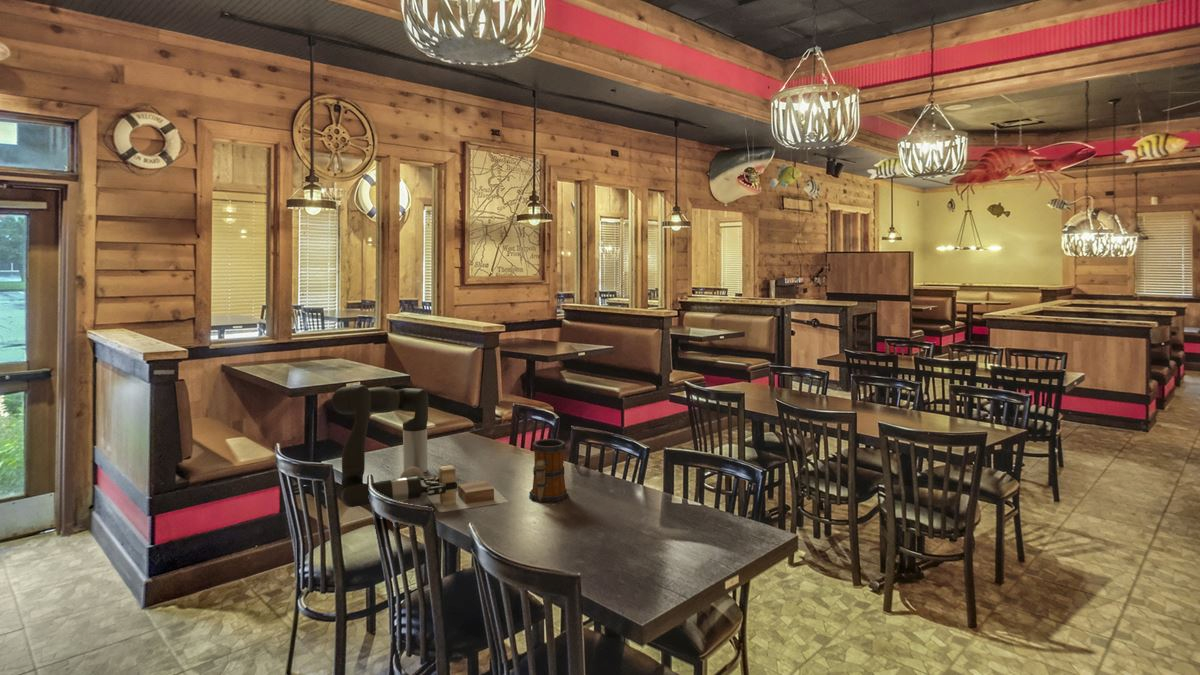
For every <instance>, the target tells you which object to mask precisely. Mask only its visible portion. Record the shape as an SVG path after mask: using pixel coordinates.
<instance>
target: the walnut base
mask: <svg viewBox="0 0 1200 675" xmlns="http://www.w3.org/2000/svg"><path fill="white" fill-rule="evenodd" d="M494 488H495V487H493V486H492V485H490V484H489V482H488V481H487V480H480V481H474V482H464V483H457V492H458V496H459V497H460V498H461V499H462V500H463V501H464V502H465V504H470V503H477V502H483V501H490V500H494Z"/></svg>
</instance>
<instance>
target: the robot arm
mask: <svg viewBox="0 0 1200 675" xmlns="http://www.w3.org/2000/svg"><path fill="white" fill-rule="evenodd" d="M331 404H332V407H333V409H334V410H335V412H337V413H339V414H340V415H341V414H342V415H352V414H355V419H354V422H353V423H354V424H353V426H352V429H351V432H350V434H349V435H348V438H347V439H346V441H345V443H344V446H343V448H342V452H341V476H342V477H341V484H340V485H341V486H340V487H341V488H340V499H341V502H342V504H343V505H344V506H345V507H349V508H355V507H361V506H366V505H371V504H370V502H369V499H368V495H369V491H368V484H369V483H370V482H368V483H365V482H364V474H365V469H366V468H365V466H366V465H365V463H366V462H365V459H366V458H365V457H366V456H365V452H366V441H367V439H366V438H367V434H368V432H367V431H368V428H369V420H370V414H371V413H376V414H378V413H379V414H384V413H385V414H386V413H392V412H394V411H395V410H396V411H397V410H398V411H401V412H409V413H414V417H413V418H410V419H407V420H405V421H403V423H402V446H403V447H402V450H403V451H402V452H403V471H405V470H406V469H407V468H409V467H414V466H415V467H418V468H420V469H421V470H422V472H423V474H425V473H426V472H428V471H429V470H428V468H429V467H428V463H429V462H428V457H429V456H428V420H429V394H428V392H427V390H426V389H424V388H416V387H415V388H412V387H411V388H409V387H406V388H401V389H395V388H392V387H385V386H384V387H383V386H381V387H371V388H368V387H367V386H366V385H363V384H357V385H347V386H343V387H340V388H338V389H336V390H335V391H334V392H333V394H332V397H331ZM371 483H372V485H373V487H374V488H375V489H376V490H377V491H379V492H380V493H382V494H384V495H386V496H388V497H390V498H392V499H394V500H397V501H396V502H403V501H410V500H418V499H420V498H421V497H422V493H423V494H424V493H425V494H427V496H431V495H438V494H443V493H446V490H451V489H456V490H458V483H457V481H456V482H451V483H439V476H438V475H428V476H424V477H420V478H419V477H418V476H412V477H405V478H400V477H399V478H393V479H386V480H380V481H376V482H371ZM440 488H442V489H440Z"/></svg>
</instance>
